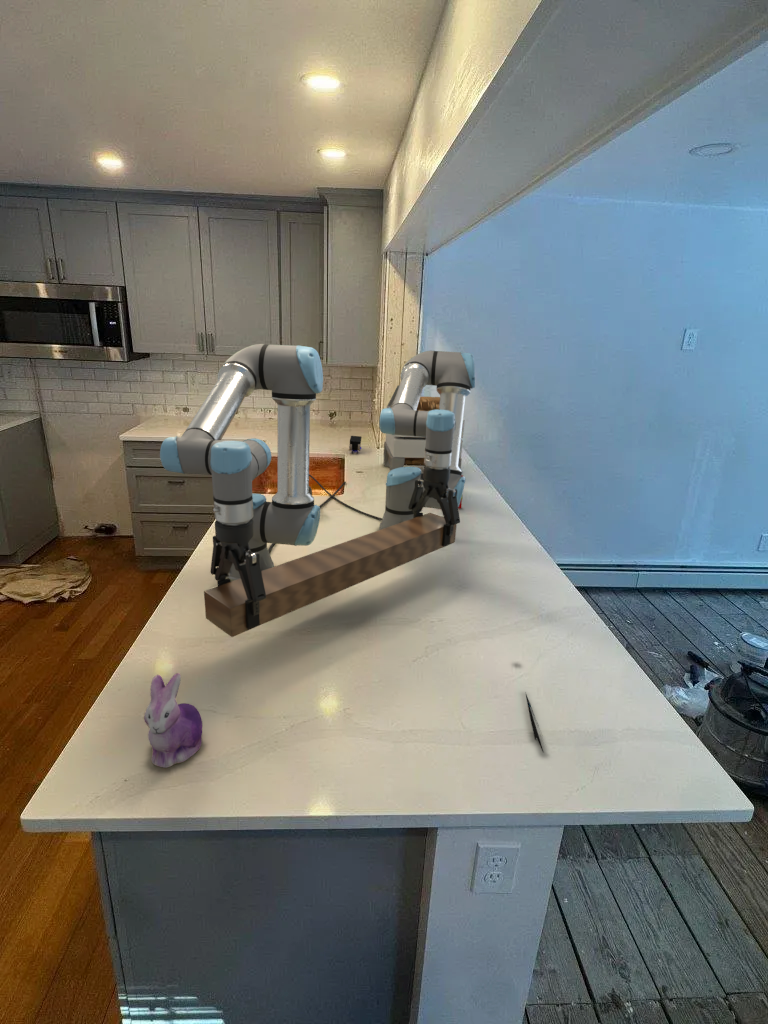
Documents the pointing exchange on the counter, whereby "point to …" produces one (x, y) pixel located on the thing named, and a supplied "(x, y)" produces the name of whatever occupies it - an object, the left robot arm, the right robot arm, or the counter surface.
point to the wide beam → (326, 572)
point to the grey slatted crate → (410, 440)
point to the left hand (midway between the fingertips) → (238, 616)
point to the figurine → (171, 724)
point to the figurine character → (355, 444)
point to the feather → (534, 723)
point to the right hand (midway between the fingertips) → (431, 539)
